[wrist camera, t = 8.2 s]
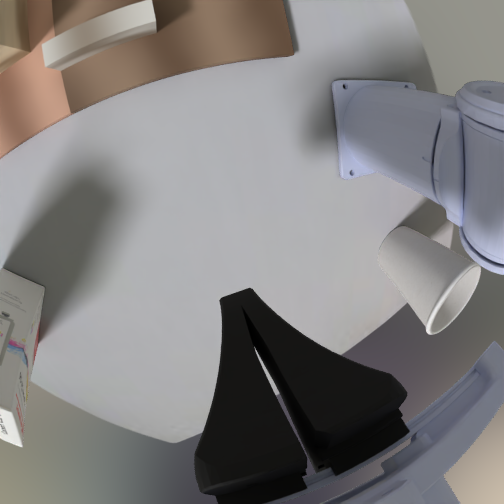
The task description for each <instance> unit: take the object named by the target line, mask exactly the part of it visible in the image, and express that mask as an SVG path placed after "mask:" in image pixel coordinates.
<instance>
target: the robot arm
mask: <svg viewBox="0 0 504 504" xmlns="http://www.w3.org/2000/svg"><path fill="white" fill-rule="evenodd" d="M343 84H345V89H344V88H343ZM332 92H333V100H334V108H335V118H336V128H337V139H338V153H339V169H340V176H341V178H343V179H345V180H348V179H352V178H355V177H359V176H364V175H368V174H372V173H376V172H378V173H380V174H383V175H385V176H387V177H389V178H391V179H393V180H395V181H397V182H399V183H401V184H403V185H405V186H407V187H409V188H411V189H412V190H414V191H416V192H418V193H420V194H422V195H424V196H425V197H427V198H429V199H431V200H433V201H434V202H436V203H438V204H440V205H441V206H443V207H444V208H445V209H446V213H447V219H448V220H450V221H452V222H453V223H455V224H456V225H458V226H459V234H460V239H461V242H462V245H463V246H464V249H465V250H466V252H467V253H468V254H469V255H470V257H471V258H472V259H473V260H474V261H475V262H477V263H478V264H479V265H481V266H482V267H484V268H485V269H487V270H490V271H492V272H495V273H498V274H503V275H504V83H502V82H496V81H473V82H469V83H466V84H465V85H464V86H463V87H462V88H461V89H460V90H459V91H457V93H456V96H455V97H453V96H448V95H444V94H438V93H433V92H428V91H422V90H416V86H415V84H414V83H410V82H398V81H380V80H336V81H334V82H333V83H332ZM351 170H352V172H351V174H350V171H351ZM219 301H220V305H221V313H222V344H221V356H220V365H219V372H218V377H217V383H216V388H215V392H214V397H213V401H212V405H211V408H210V412H209V415H208V418H207V421H206V425H205V428H204V431H203V433H202V436H201V439H200V441H199V444H198V446H197V449H196V451H195V459H194V461H195V463H194V465H195V475H196V480H197V483H198V486H199V490H200V492H202V493H204V494H208V495H215V496H216V499H217V502H218V504H280V503H283V502H286V501H288V500H291V499H294V498H297V497H300V496H302V495H305V494H307V493H310V492H312V491H315V490H317V489H319V488H322V487H324V486H327V485H329V484H331V483H333V482H335V481H337V480H340V479H342V478H344V477H346V476H348V475H350V474H352V473H353V472H355V471H357V470H359V469H361V468H363V467H364V466H366V465H368V464H370V463H372V462H373V461H375V460H376V459H378V458H380V457H382V456H383V455H385V454H386V453H388V452H390V451H391V450H393V449H394V448H396V447H397V446H399V445H400V444H402V443H403V442H405V441H406V440H407V439H409V438H410V437H412V438H411V443H410V444H409V445H408V446H407V447H405V448H404V449H402V450H401V451H399V452H398V453H396V454H395V455H393V456H392V457H390V458H389V459H387V460H385V461H384V462H382V463H381V467H382V468H383V470H384V472H383V473H381V474H379V475H378V476H376V477H374V478H372V479H370V480H369V481H367V482H365V483H363V484H361V485H359V486H357V487H355V488H353V489H351V490H349V491H347V492H345V493H343V494H341V495H339V496H337V497H334V498H332V499H330V500H328V501H325V502H323V503H321V504H460V502H459V501H458V499H457V497H456V496H455V494H454V492H453V491H452V489H451V488H450V486H449V484H448V483H447V481H446V480H445V478H444V476H443V475H444V474H445V473H446V472H447V471H448V470H449V469H450V468H451V467H452V466H453V465H454V464H455V463H456V462H457V461H458V460H459V459H460V458H461V457H462V455H463V454H464V453H465V452H466V451H467V450H468V449H469V448H470V446H471V445H472V444H473V443H474V442H475V440H476V439H477V438H478V437H479V435H480V434H481V433H482V431H483V430H484V429H485V428H486V426H487V425H488V424H489V422H490V421H491V420H492V418H493V417H494V415H495V414H496V413H497V411H498V410H499V408H500V407H501V405H502V404H503V402H504V350H503V349H502V348H501V347H500V346H499V345H498V344H497V342H496V341H493V343H492V344H491V345H490V346H489V347H488V348H487V350H485V352H484V353H483V354H482V355H481V356H480V357H479V359H478V360H477V361H476V362H475V364H474V366H473V367H472V368H471V369H470V370H469V371H468V372H467V373H466V374H465V375H464V376H463V377H462V378H461V379H460V380H459V381H457V382H456V383H455V384H454V385H453V386H452V387H451V388H450V389H449V390H448V391H446V392H445V393H444V394H443V395H442V396H441V397H439V398H438V399H437V400H436V401H435V402H433V403H432V404H431V405H430V406H428V407H427V408H426V409H425V410H423V411H422V412H421V413H419V414H418V415H417V416H415V417H414V418H413V419H411V420H410V421H408V422H407V423H406V424H405V423H404V422H403V420H402V419H401V417H402V416H403V415H402V413H401V411H400V410H399V409H398V408H399V407H400V406H401V404H402V403H403V402H404V400H405V399H406V397H407V391H406V390H405V389H404V387H403V386H402V385H401V384H400V383H399V382H398V381H397V380H396V379H395V378H394V377H393V376H392V375H391V374H389V373H386V372H383V371H379V370H376V369H373V368H370V367H367V366H364V365H362V364H359V363H357V362H354V361H351V360H349V359H347V358H345V357H343V356H341V355H339V354H337V353H334V352H332V351H330V350H328V349H327V348H325V347H323V346H321V345H319V344H318V343H316V342H314V341H313V340H311V339H310V338H308V337H306V336H305V335H303V334H302V333H301V332H299V331H298V330H296V329H295V328H294V327H292V326H291V325H290V324H288V323H287V322H286V321H285V320H283V319H282V318H281V317H280V316H279V315H277V314H276V313H275V312H274V311H273V310H272V309H271V308H270V307H269V306H268V305H267V304H266V303H264V302H263V300H262V299H261V298H260V297H259V296H258V295H257V294H256V293H255V292H254V290H253V289H251V288H248V289H245V290H242V291H239V292H236V293H233V294H231V295H228V296H225V297H222V298H221V299H220V300H219ZM254 347H255V348H256V350H257V352H258V354H259V356H260V358H261V360H262V361H263V363H264V365H265V367H266V369H267V370H268V372H269V374H270V376H271V377H272V379H273V381H274V383H275V385H276V387H277V389H278V391H279V393H280V395H281V397H282V399H283V401H284V404H285V406H286V408H287V410H288V412H289V415H290V417H291V419H292V421H293V424H294V426H295V428H296V430H297V432H298V435H299V437H300V439H301V441H302V444H303V446H304V448H305V450H306V452H307V455H308V457H309V459H310V461H311V464H312V466H313V468H314V470H315V472H316V474H314V475H311V476H309V477H306V478H304V479H303V478H302V476H305V475H307V474H306V468H307V457H306V454H305V453H304V450H303V448H302V446H301V444H300V442H299V440H298V438H297V436H296V435H295V433H294V431H293V429H292V427H291V425H290V423H289V421H288V419H287V417H286V415H285V413H284V411H283V410H282V408H281V405H280V403H279V402H278V399H277V397H276V395H275V393H274V391H273V389H272V387H271V385H270V383H269V381H268V379H267V376H266V374H265V372H264V370H263V368H262V366H261V363H260V361H259V359H258V357H257V354H256V352H255V348H254Z"/></svg>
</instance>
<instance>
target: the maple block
mask: <svg viewBox="0 0 504 504" xmlns="http://www.w3.org/2000/svg"><path fill="white" fill-rule="evenodd" d="M29 53H31V51H30V42H29V31H28V14H27V0H0V74H1V73H2V72H3V71H5V70H6V69H7V68H9V67H10V66H11V65H13V64H14V63H16V62H17V61H19V60H20V59H22V58H23V57H25V56H26V55H28V54H29Z"/></svg>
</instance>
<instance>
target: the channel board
mask: <svg viewBox="0 0 504 504" xmlns="http://www.w3.org/2000/svg"><path fill="white" fill-rule="evenodd" d="M27 14H28V31H29V42H30V51H31V53H29V54H28V55H26V56H25V57H23V58H22V59H20V60H19V61H17V62H16V63H14V64H13V65H11V66H10V67H9V68H7V69H6V70H5V71H3V72H2V73H1V74H0V159H1V158H2V157H3V156H5V155H6V154H8V153H9V152H10V151H12V150H13V149H15V148H16V147H18V146H19V145H21V144H22V143H24V142H25V141H27V140H28V139H30V138H32V137H33V136H35V135H36V134H38V133H40V132H41V131H43V130H45V129H46V128H48V127H50V126H52V125H54V124H55V123H57V122H59V121H61V120H63V119H65V118H67V117H68V116H70V115H72V114H74V113H76V112H78V111H81V110H83V109H85V108H87V107H89V106H91V105H93V104H96V103H98V102H100V101H103V100H105V99H107V98H110V97H112V96H115V95H117V94H120V93H122V92H125V91H128V90H131V89H133V88H136V87H139V86H142V85H145V84H148V83H151V82H154V81H157V80H161V79H164V78H168V77H171V76H175V75H178V74H182V73H186V72H190V71H195V70H199V69H203V68H208V67H213V66H218V65H224V64H229V63H236V62H242V61H249V60H257V59H266V58H277V57H288V56H292V55H294V51H293V46H292V41H291V36H290V31H289V26H288V22H287V17H286V13H285V9H284V4H283V0H27Z"/></svg>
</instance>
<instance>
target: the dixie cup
mask: <svg viewBox="0 0 504 504" xmlns="http://www.w3.org/2000/svg"><path fill="white" fill-rule="evenodd" d="M377 261H378V265H379V266H380V268H381V269H382V270H383V271H384V273H385V274H386V275H387V276H388V277H389V279H390V280H391V281H392V283H393V284H394V285H395V286H396V288H397V289H398V290H399V291H400V293H401V294H402V295H403V297H404V298H405V299H406V301H407V302H408V303H409V305H410V306H411V307H412V308H413V310H414V311H415V313H416V314H417V315H418V317H419V318H420V320H421V321H422V322H423V324H424V325H425V326H426V332H427V333H428V334H436V333H438V332H440V331H442V330H443V329H444V328H445V327H447V326H448V325H449V324H450V323H451V322H452V321H453V320H454V319H455V318H456V317H457V315H458V314H459V313H460V312H461V311H462V309H463V308H464V307H465V305H466V304H467V302H468V301H469V299H470V298H471V296H472V294H473V292H474V290H475V288H476V286H477V284H478V281H479V278H480V273H481V268H480V265H479V264H478V263H477V262H471V261H470V260H468V259H466V258H465V257H463V256H461V255H460V254H458V253H456V252H454V251H452V250H451V249H449V248H447V247H445V246H443V245H442V244H440V243H438V242H436V241H434V240H432V239H430V238H428V237H426V236H425V235H423V234H421V233H419V232H417V231H415V230H413V229H411V228H409V227H407V226H400V227H397V228H396V229H394V230H393V231H392V232H390V233H389V234H388V236H387V237H386V238H385V240H384V241H383V243H382V245H381V247H380V249H379V252H378V257H377Z"/></svg>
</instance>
